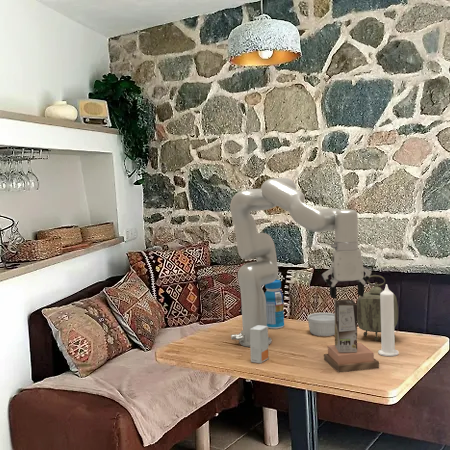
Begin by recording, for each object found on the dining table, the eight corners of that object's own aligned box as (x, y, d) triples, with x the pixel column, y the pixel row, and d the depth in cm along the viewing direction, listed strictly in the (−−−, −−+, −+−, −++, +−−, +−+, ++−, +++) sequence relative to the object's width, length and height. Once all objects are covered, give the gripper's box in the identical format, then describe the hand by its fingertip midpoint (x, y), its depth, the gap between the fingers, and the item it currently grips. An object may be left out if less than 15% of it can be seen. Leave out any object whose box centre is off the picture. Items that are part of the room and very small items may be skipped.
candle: (399, 351, 214) (397, 282, 212) (398, 357, 207) (396, 286, 205) (378, 350, 216) (377, 282, 214) (377, 355, 210) (375, 285, 208)
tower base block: (338, 375, 194) (338, 366, 194) (324, 362, 208) (323, 354, 208) (379, 370, 197) (378, 361, 197) (361, 358, 211) (361, 349, 210)
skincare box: (261, 363, 207) (259, 330, 206) (250, 362, 210) (249, 328, 209) (269, 358, 212) (268, 325, 211) (258, 357, 215) (257, 324, 214)
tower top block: (338, 364, 196) (338, 355, 196) (328, 354, 208) (327, 345, 207) (373, 361, 197) (373, 352, 197) (361, 351, 209) (360, 342, 209)
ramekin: (341, 329, 248) (340, 312, 247) (340, 337, 235) (339, 320, 235) (309, 328, 251) (308, 312, 250) (306, 337, 238) (306, 320, 238)
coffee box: (358, 352, 198) (357, 304, 196) (338, 353, 198) (338, 305, 196) (353, 344, 207) (352, 299, 205) (334, 345, 207) (334, 299, 206)
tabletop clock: (398, 337, 231) (397, 273, 229) (394, 344, 223) (392, 278, 221) (361, 334, 238) (360, 272, 236) (355, 340, 230) (353, 276, 228)
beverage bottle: (264, 329, 253) (262, 282, 251) (266, 324, 261) (264, 279, 260) (284, 329, 252) (282, 282, 250) (285, 324, 260) (283, 278, 258)
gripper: (326, 249, 194) (327, 301, 196) (375, 246, 198) (376, 297, 199) (317, 246, 201) (318, 296, 203) (365, 243, 205) (366, 292, 206)
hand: (347, 296), depth 201 cm, fingers open, 9 cm apart
